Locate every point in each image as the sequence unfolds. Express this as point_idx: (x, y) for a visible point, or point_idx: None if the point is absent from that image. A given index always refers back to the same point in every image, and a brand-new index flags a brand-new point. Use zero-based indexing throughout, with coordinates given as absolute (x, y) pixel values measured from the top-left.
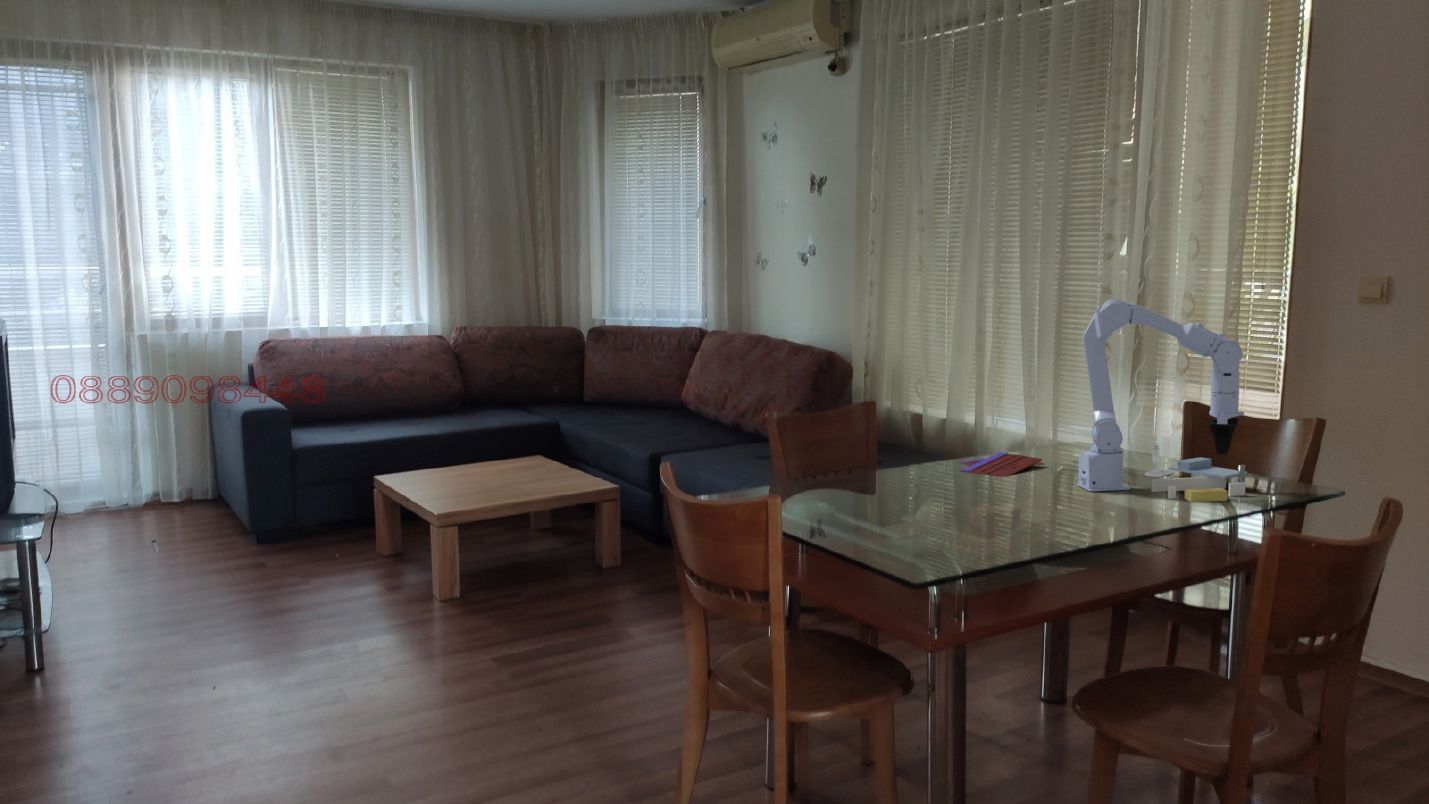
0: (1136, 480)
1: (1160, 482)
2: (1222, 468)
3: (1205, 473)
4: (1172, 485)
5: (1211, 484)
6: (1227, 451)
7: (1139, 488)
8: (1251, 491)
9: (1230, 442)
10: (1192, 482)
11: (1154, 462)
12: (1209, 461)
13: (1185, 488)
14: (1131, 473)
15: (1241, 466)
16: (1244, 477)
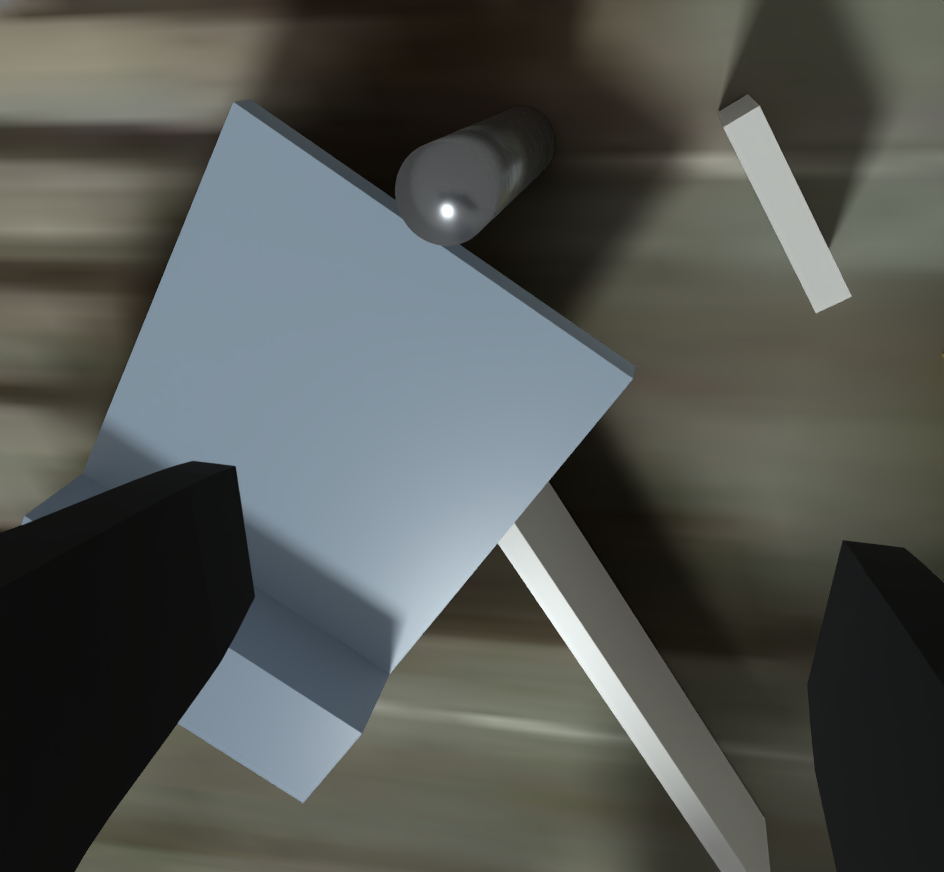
0: (345, 841)
1: (739, 841)
2: (140, 376)
3: (490, 549)
4: (686, 736)
5: None
6: (939, 588)
7: (634, 867)
8: (476, 26)
9: (154, 515)
10: (591, 606)
11: None
12: None
13: (630, 623)
14: (130, 833)
15: (494, 195)
16: (499, 125)
